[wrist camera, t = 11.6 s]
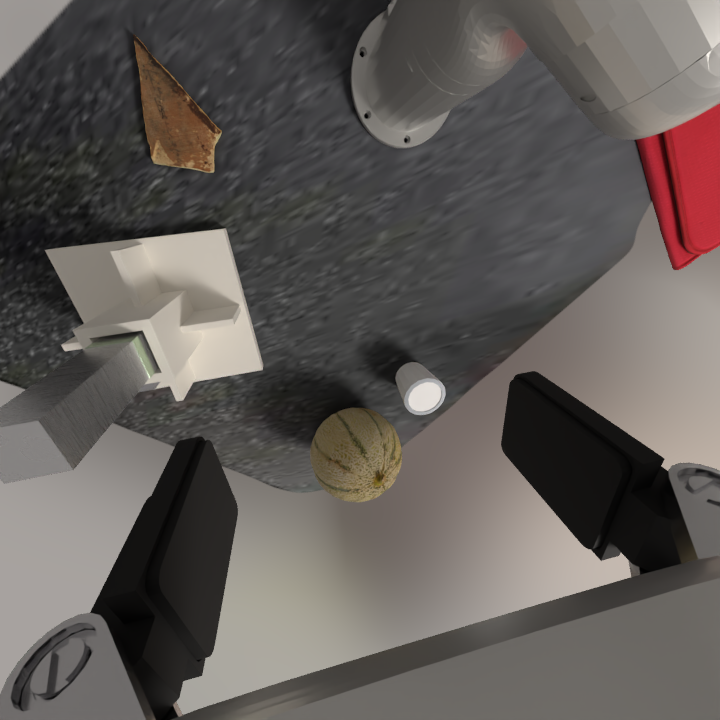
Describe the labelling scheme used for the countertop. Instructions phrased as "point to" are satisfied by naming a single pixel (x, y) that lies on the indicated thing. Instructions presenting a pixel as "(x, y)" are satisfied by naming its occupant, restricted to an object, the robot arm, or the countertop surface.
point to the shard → (173, 118)
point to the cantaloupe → (356, 454)
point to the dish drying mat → (686, 185)
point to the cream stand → (164, 303)
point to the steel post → (72, 407)
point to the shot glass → (419, 389)
